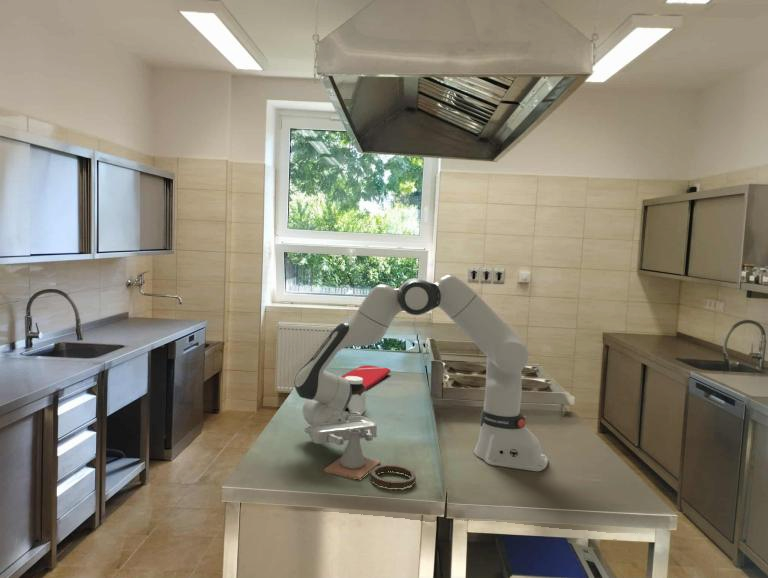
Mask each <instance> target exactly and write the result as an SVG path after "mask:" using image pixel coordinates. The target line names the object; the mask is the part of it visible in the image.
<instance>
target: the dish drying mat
mask: <svg viewBox="0 0 768 578" xmlns="http://www.w3.org/2000/svg"><path fill="white" fill-rule="evenodd" d="M391 370H392V369H390V368H387V367H382V366H376V365H375V366H374V365H360V366H359V367H356V368H355V369H353V370H350V371H349V372H347V373H345V374H343V375H341V377H343V378H345V377H347V376H357V377H361V378H363V383H362V384H363V385H364V386H365V388H366V390H368V389H369V388H371V387H373V386H374V385H376V384H377V383H378V382H379V381H381V380H383V379H384V378H385V377H386V376H388V374H390V373H391Z"/></svg>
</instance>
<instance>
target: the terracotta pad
mask: <svg viewBox="0 0 768 578" xmlns="http://www.w3.org/2000/svg"><path fill="white" fill-rule="evenodd" d="M341 458H342V456H341V457H339V458H338V459H337V460H335V461H333V462H332V463H331V464H329V465H328V466H326V467H325V468H324V469H323V472H324V473H328V474H331V473H332V475H335V474H337V475H336V476H339V475H341V476H340V477H343V476H346V477H345V478H347V477H350V478H349V479H351V478H355V479H359V480H360V479H362V478H363V477H364V476H365V475H366V474H367V473H369V472H370V471H371V470H372V469H373V468H375V467H376V466H377V465H378V464H379V463H380V464H381V460H376V459H374V458H369V457H364V459H365V463H366V465H365V466H363V467H362V468H357V469H350V468H346V467H343V466H342V465H341V464H339V462H340V460H341ZM380 464H379V465H380ZM379 465H378V466H379ZM370 473H371V472H370ZM370 473H369V474H370ZM366 476H367V475H366ZM366 476H365V477H366ZM365 477H364V478H365ZM364 478H363V479H364ZM355 479H354V480H355ZM363 479H362V480H363ZM359 480H358V481H359ZM360 481H361V480H360Z"/></svg>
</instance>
